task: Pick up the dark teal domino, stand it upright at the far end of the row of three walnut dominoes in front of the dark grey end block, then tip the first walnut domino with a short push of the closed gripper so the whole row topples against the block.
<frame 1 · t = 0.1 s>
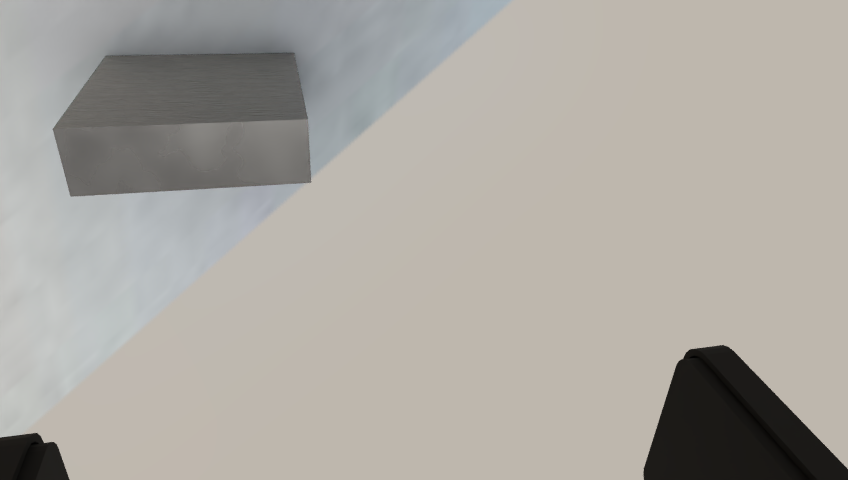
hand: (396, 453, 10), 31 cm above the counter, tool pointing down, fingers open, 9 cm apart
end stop: (206, 81, 37), on the counter
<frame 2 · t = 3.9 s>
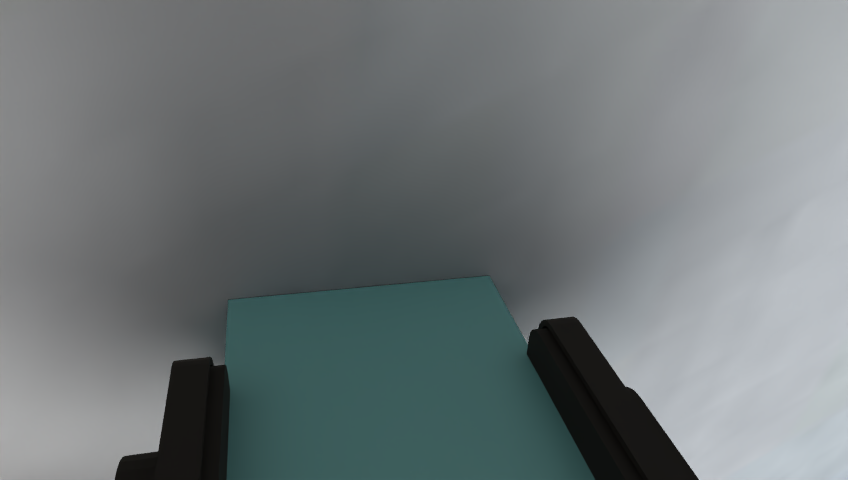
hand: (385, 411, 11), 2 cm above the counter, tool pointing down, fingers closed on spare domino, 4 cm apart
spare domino: (364, 320, 13), on the counter, touching gripper
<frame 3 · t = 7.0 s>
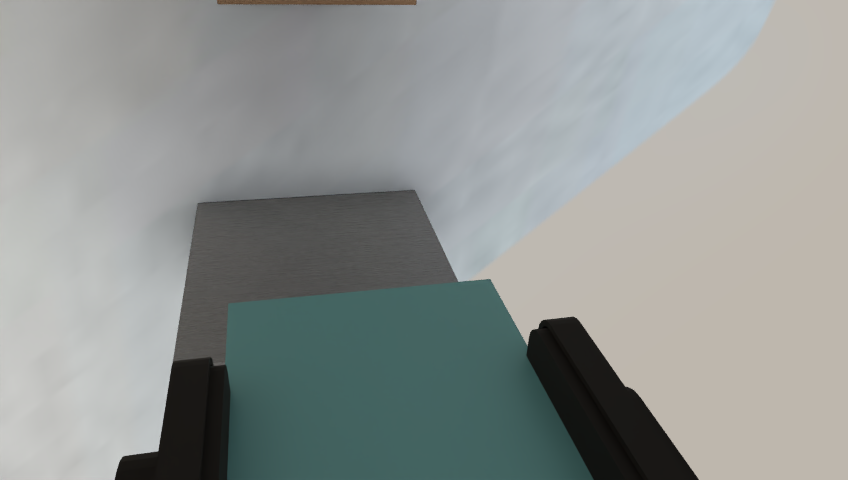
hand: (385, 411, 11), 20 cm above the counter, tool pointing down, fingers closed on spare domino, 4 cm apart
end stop: (311, 224, 31), on the counter
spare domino: (365, 324, 13), point 17 cm above the counter, touching gripper
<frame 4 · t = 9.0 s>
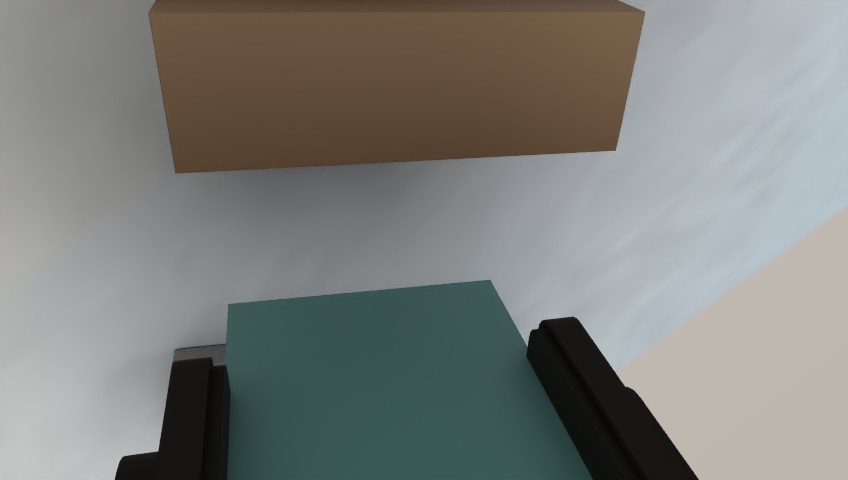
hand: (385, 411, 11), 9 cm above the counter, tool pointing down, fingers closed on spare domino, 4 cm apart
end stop: (338, 367, 22), on the counter
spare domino: (365, 324, 13), point 7 cm above the counter, touching gripper
when the fingers open (3 cm above the counter, at t = 10.5 s): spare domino stays where it is, on the counter.
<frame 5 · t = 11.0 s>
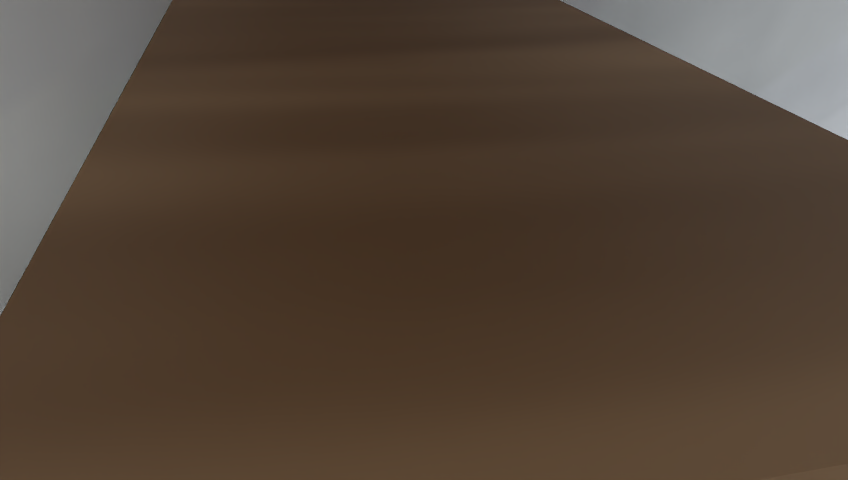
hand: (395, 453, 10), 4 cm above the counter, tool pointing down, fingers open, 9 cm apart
domino 3: (354, 22, 11), on the counter
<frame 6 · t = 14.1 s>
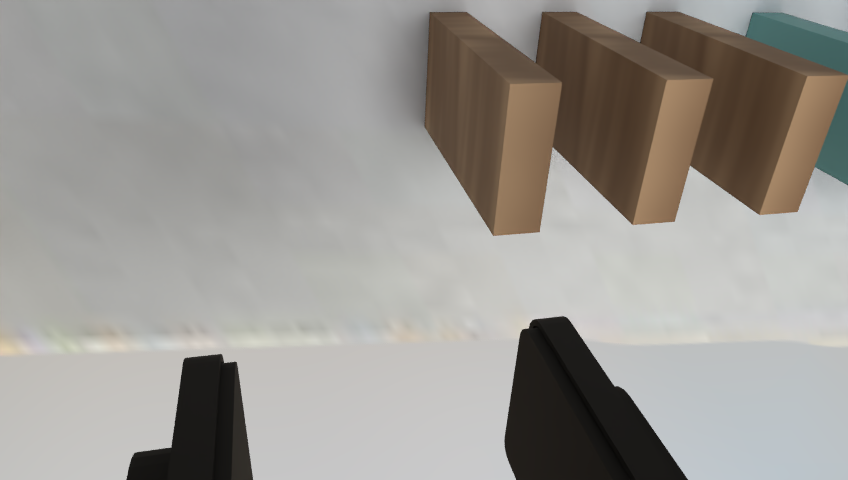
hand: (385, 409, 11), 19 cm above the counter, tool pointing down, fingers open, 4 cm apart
domino 3: (650, 67, 30), on the counter
domino 2: (551, 69, 29), on the counter
domino 1: (444, 71, 28), on the counter
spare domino: (751, 66, 31), on the counter
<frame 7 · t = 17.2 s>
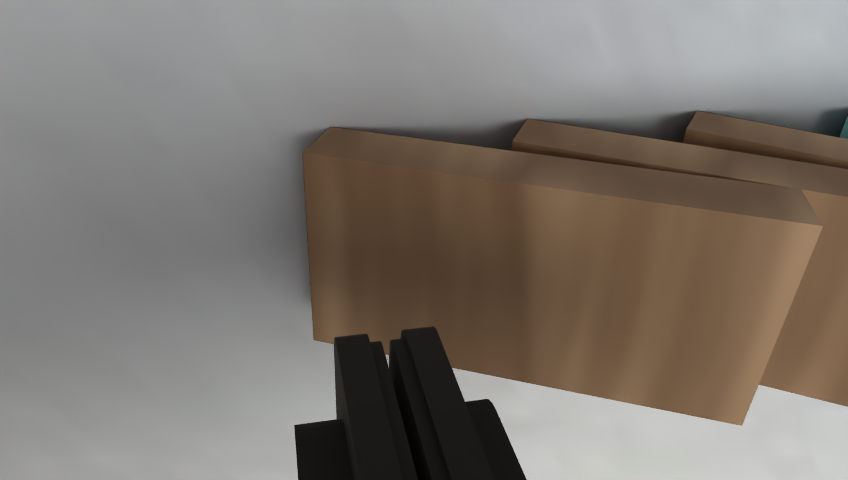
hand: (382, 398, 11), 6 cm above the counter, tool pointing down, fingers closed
domino 3: (668, 207, 17), point 1 cm above the counter, tilted 48°, touching domino 2, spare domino
domino 2: (508, 222, 16), point 1 cm above the counter, tilted 57°, touching domino 1, domino 3
domino 1: (321, 237, 15), point 1 cm above the counter, tilted 63°, touching domino 2
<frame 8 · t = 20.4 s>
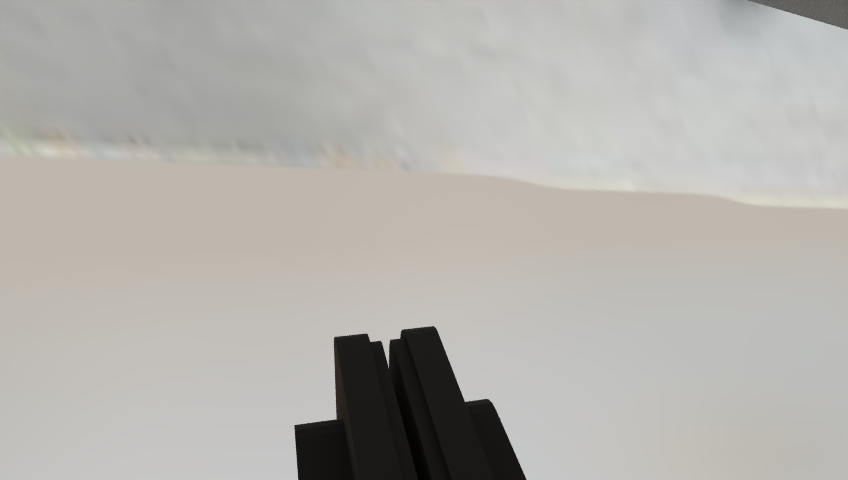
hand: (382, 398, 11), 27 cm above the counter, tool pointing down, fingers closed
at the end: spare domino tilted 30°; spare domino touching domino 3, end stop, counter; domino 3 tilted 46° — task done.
